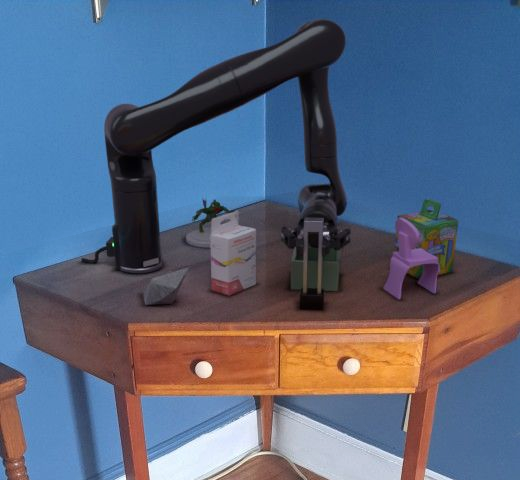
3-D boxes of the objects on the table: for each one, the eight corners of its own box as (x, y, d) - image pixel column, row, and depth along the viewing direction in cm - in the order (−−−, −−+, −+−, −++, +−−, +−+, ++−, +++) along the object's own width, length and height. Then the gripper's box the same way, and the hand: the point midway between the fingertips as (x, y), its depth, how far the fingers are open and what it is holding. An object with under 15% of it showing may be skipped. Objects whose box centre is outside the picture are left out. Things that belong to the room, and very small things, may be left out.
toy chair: (440, 295, 159) (448, 220, 152) (401, 301, 156) (407, 225, 149) (418, 280, 166) (424, 209, 159) (380, 286, 163) (385, 214, 156)
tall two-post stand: (299, 309, 153) (301, 221, 145) (301, 302, 156) (302, 216, 148) (322, 310, 153) (325, 222, 145) (323, 303, 156) (326, 216, 148)
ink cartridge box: (229, 297, 159) (227, 223, 152) (211, 291, 162) (208, 219, 155) (257, 284, 165) (257, 213, 158) (239, 279, 167) (237, 209, 161)
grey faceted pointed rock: (124, 301, 154) (134, 273, 160) (146, 324, 157) (154, 295, 164) (173, 275, 149) (181, 246, 155) (195, 298, 152) (201, 270, 159)
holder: (290, 289, 162) (291, 260, 159) (294, 273, 170) (295, 245, 168) (337, 291, 161) (338, 262, 158) (339, 274, 169) (340, 247, 167)
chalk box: (391, 268, 172) (396, 199, 166) (423, 260, 177) (429, 193, 170) (421, 281, 166) (427, 210, 159) (454, 272, 170) (461, 203, 163)
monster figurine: (198, 250, 183) (196, 206, 179) (178, 236, 193) (175, 193, 188) (245, 242, 188) (245, 199, 184) (223, 228, 198) (222, 187, 193)
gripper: (282, 203, 160) (273, 229, 145) (354, 205, 159) (352, 232, 144) (282, 239, 164) (273, 269, 149) (352, 242, 162) (350, 272, 147)
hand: (312, 250), depth 146 cm, fingers closed on tall two-post stand, 3 cm apart
